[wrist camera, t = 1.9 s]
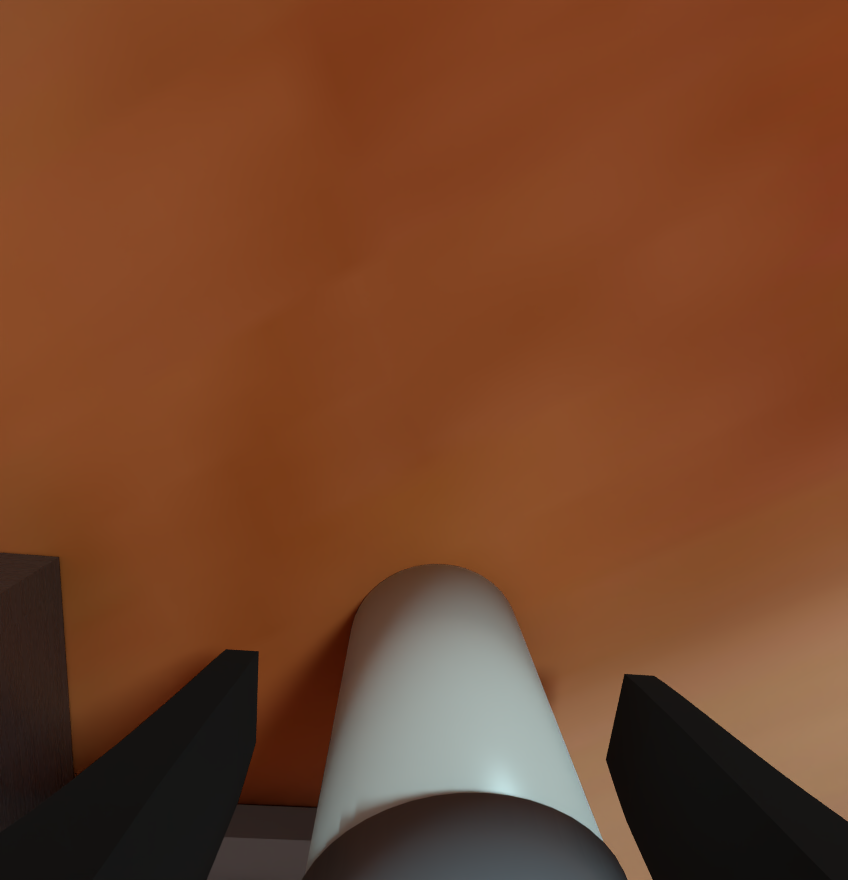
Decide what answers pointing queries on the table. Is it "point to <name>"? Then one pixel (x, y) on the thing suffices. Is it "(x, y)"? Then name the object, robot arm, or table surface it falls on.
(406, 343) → the table surface
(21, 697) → the button housing
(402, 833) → the capped white cylinder
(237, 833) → the board
